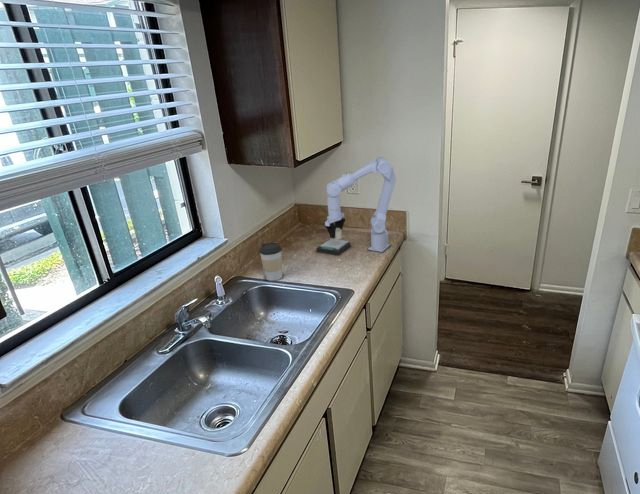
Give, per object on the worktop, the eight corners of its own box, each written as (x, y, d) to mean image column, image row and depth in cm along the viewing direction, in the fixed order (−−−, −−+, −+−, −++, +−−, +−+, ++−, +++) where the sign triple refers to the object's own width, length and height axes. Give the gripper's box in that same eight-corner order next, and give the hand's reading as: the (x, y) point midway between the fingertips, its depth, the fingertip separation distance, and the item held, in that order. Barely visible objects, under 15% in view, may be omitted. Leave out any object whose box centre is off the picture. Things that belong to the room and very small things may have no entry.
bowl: (334, 235, 211) (333, 227, 210) (344, 237, 210) (343, 228, 208) (328, 239, 207) (327, 231, 205) (338, 241, 205) (337, 232, 203)
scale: (329, 242, 221) (329, 237, 220) (350, 246, 217) (350, 241, 216) (316, 251, 211) (316, 246, 210) (338, 255, 207) (337, 250, 206)
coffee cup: (288, 272, 190) (284, 241, 184) (280, 282, 182) (276, 249, 176) (268, 271, 191) (263, 240, 185) (259, 281, 183) (254, 248, 177)
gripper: (334, 203, 210) (336, 229, 215) (318, 212, 197) (320, 239, 203) (347, 204, 207) (349, 231, 213) (331, 213, 195) (334, 241, 200)
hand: (336, 235), depth 208 cm, fingers closed on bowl, 5 cm apart
